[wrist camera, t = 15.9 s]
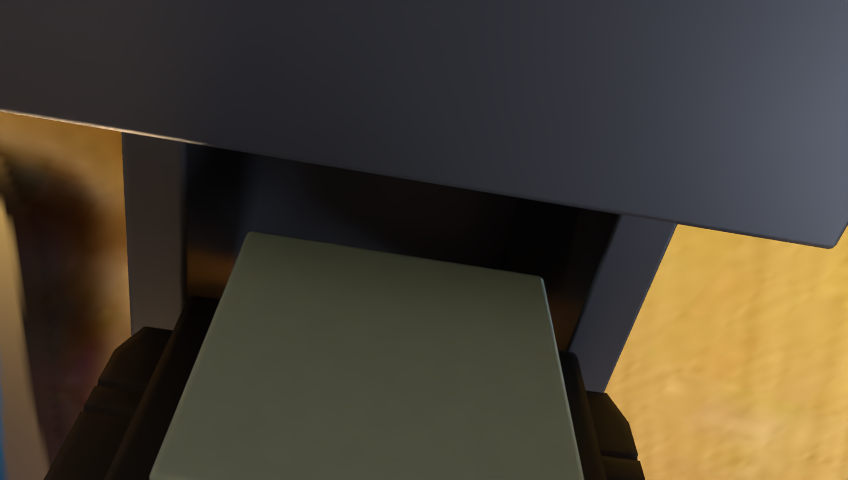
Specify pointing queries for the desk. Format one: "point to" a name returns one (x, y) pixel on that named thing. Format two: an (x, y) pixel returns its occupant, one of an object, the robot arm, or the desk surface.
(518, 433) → the block
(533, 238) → the drawer
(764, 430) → the desk surface
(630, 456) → the robot arm
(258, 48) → the dark box
